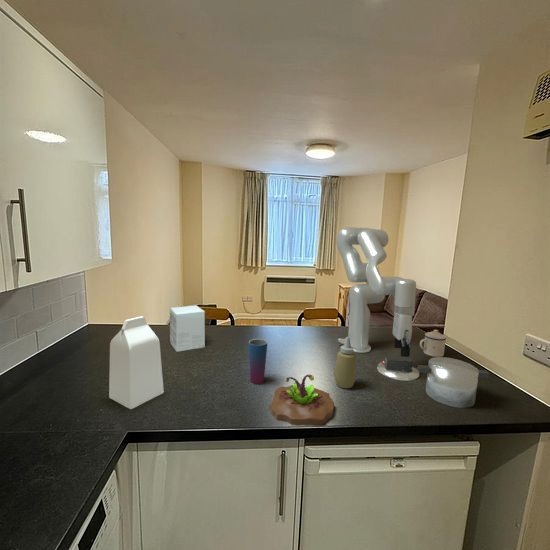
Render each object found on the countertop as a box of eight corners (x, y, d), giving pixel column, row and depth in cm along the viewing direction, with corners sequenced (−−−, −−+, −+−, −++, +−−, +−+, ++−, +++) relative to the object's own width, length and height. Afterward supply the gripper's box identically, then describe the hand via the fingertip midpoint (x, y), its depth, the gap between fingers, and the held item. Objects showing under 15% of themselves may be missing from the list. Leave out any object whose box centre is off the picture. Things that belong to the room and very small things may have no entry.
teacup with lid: (435, 349, 152) (438, 326, 150) (448, 357, 143) (451, 333, 142) (413, 350, 150) (415, 327, 149) (425, 358, 141) (427, 333, 140)
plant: (333, 431, 87) (336, 394, 85) (265, 422, 90) (266, 385, 89) (333, 395, 106) (335, 364, 105) (277, 388, 110) (278, 358, 108)
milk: (130, 409, 94) (128, 326, 90) (109, 397, 100) (105, 319, 96) (163, 392, 104) (162, 317, 100) (142, 383, 110) (140, 311, 106)
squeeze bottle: (343, 392, 108) (346, 342, 106) (328, 382, 115) (331, 335, 113) (360, 387, 112) (364, 339, 109) (345, 378, 119) (348, 333, 116)
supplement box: (196, 338, 156) (196, 304, 154) (205, 347, 145) (205, 311, 143) (169, 342, 149) (169, 307, 147) (176, 352, 138) (175, 314, 136)
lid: (381, 379, 120) (382, 365, 119) (373, 362, 135) (374, 350, 135) (425, 383, 118) (426, 369, 117) (411, 365, 134) (413, 353, 133)
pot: (423, 404, 102) (426, 372, 101) (409, 382, 117) (411, 354, 115) (496, 411, 100) (501, 378, 98) (472, 388, 114) (476, 359, 113)
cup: (268, 378, 116) (270, 340, 114) (262, 386, 110) (263, 346, 108) (252, 375, 118) (253, 337, 116) (244, 383, 112) (245, 343, 110)
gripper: (388, 305, 132) (386, 344, 133) (400, 314, 115) (397, 359, 116) (407, 306, 131) (404, 345, 133) (421, 315, 114) (418, 360, 116)
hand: (401, 352), depth 124 cm, fingers open, 9 cm apart
